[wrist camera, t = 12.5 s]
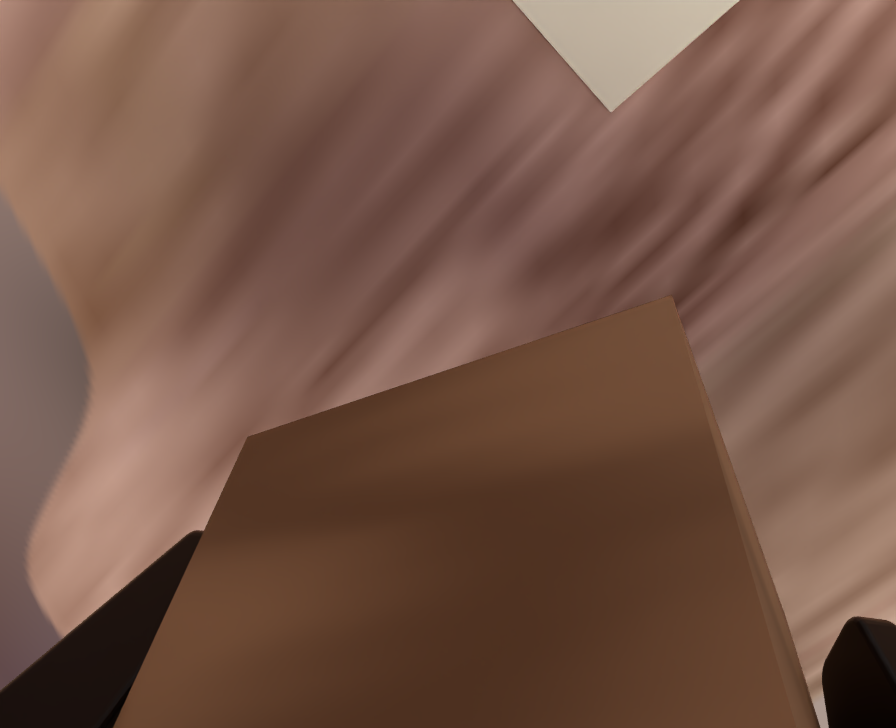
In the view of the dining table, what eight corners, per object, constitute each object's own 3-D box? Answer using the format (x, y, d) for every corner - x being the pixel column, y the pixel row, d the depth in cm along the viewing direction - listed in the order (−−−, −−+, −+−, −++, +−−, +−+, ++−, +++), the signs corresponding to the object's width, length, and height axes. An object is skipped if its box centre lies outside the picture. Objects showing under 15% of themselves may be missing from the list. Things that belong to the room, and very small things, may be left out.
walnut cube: (429, 693, 12) (375, 1158, 8) (248, 437, 10) (30, 905, 6) (785, 618, 11) (951, 1141, 6) (672, 294, 8) (812, 783, 4)
